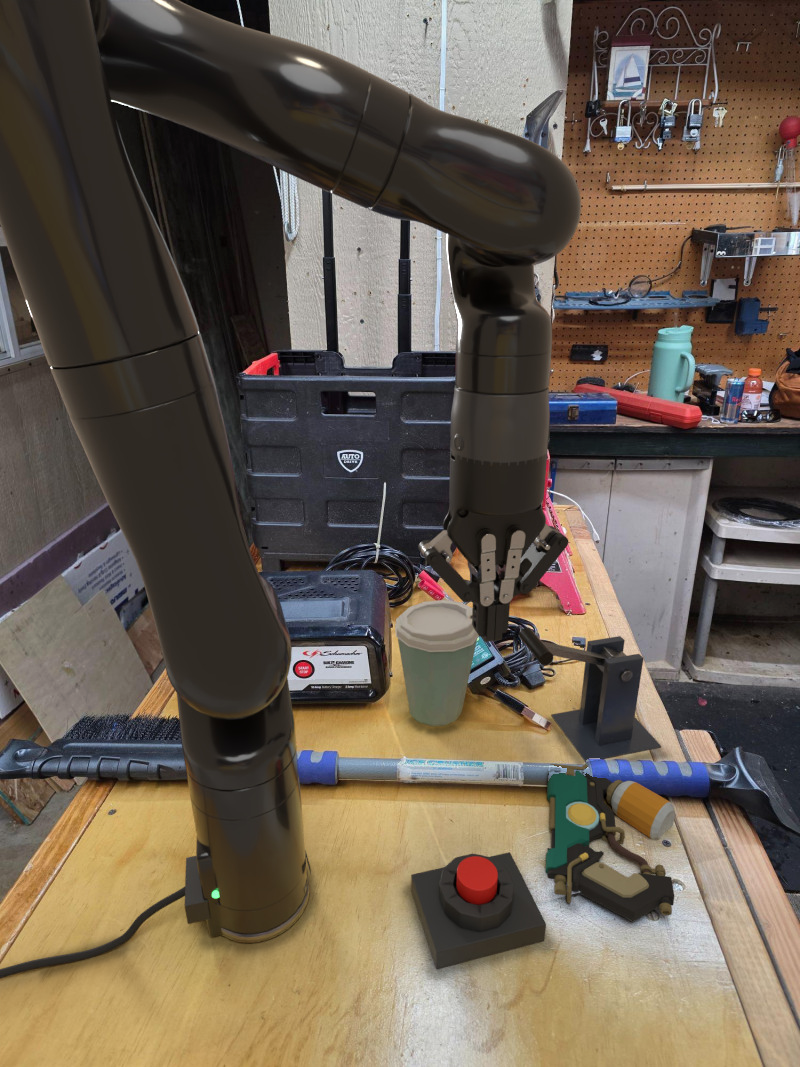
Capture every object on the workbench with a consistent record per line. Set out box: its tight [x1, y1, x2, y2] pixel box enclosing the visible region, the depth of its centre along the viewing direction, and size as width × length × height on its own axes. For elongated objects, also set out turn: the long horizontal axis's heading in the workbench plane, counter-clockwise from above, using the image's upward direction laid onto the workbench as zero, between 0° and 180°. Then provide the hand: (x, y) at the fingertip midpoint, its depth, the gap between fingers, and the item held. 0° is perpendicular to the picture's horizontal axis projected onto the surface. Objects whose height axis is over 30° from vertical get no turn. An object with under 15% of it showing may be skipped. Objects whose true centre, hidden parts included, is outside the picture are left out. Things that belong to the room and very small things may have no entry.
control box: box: [410, 851, 547, 970], centre depth 62 cm, size 10×8×4 cm
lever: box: [518, 626, 628, 673], centre depth 79 cm, size 13×6×2 cm, turn 105°
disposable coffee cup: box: [394, 599, 480, 727], centre depth 87 cm, size 11×11×15 cm
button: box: [457, 856, 498, 904], centre depth 61 cm, size 4×4×2 cm
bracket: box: [550, 635, 662, 764], centre depth 83 cm, size 10×9×13 cm
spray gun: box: [545, 763, 676, 923], centre depth 69 cm, size 4×17×15 cm
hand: (489, 636), depth 60 cm, fingers closed
